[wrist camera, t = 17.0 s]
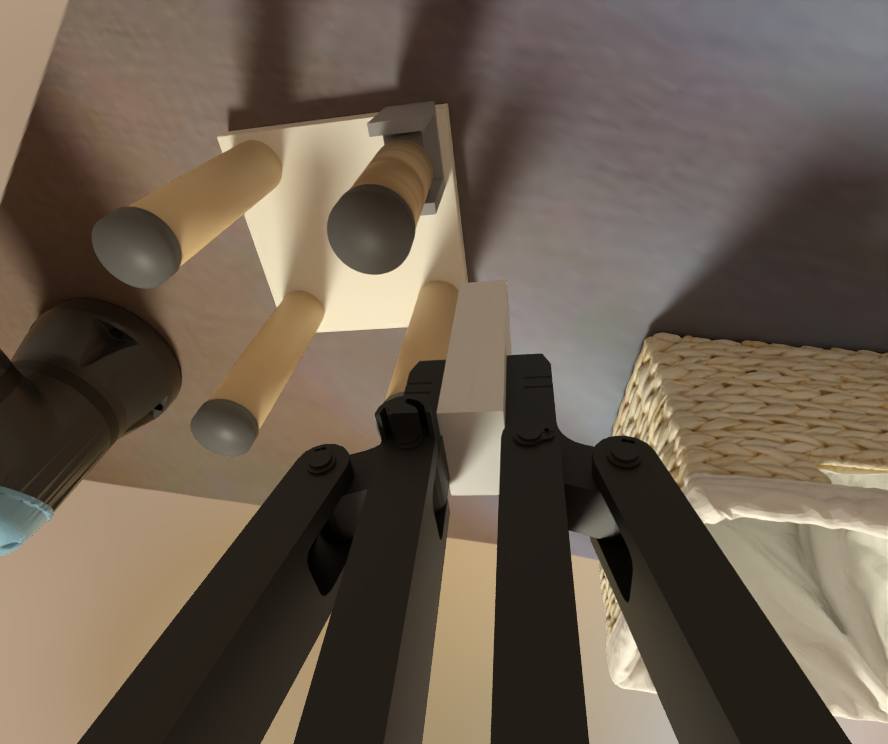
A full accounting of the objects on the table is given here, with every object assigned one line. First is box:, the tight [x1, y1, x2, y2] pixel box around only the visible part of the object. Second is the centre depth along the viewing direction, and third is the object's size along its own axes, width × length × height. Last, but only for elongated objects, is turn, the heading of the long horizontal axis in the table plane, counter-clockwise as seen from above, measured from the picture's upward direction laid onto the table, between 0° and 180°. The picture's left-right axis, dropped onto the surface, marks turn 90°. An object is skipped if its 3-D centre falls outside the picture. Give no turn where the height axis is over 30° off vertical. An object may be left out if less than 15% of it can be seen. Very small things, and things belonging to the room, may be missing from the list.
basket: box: [599, 332, 888, 723], centre depth 47 cm, size 27×27×22 cm
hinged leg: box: [327, 131, 433, 275], centre depth 31 cm, size 14×4×4 cm
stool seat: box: [92, 100, 468, 457], centre depth 38 cm, size 18×19×19 cm
